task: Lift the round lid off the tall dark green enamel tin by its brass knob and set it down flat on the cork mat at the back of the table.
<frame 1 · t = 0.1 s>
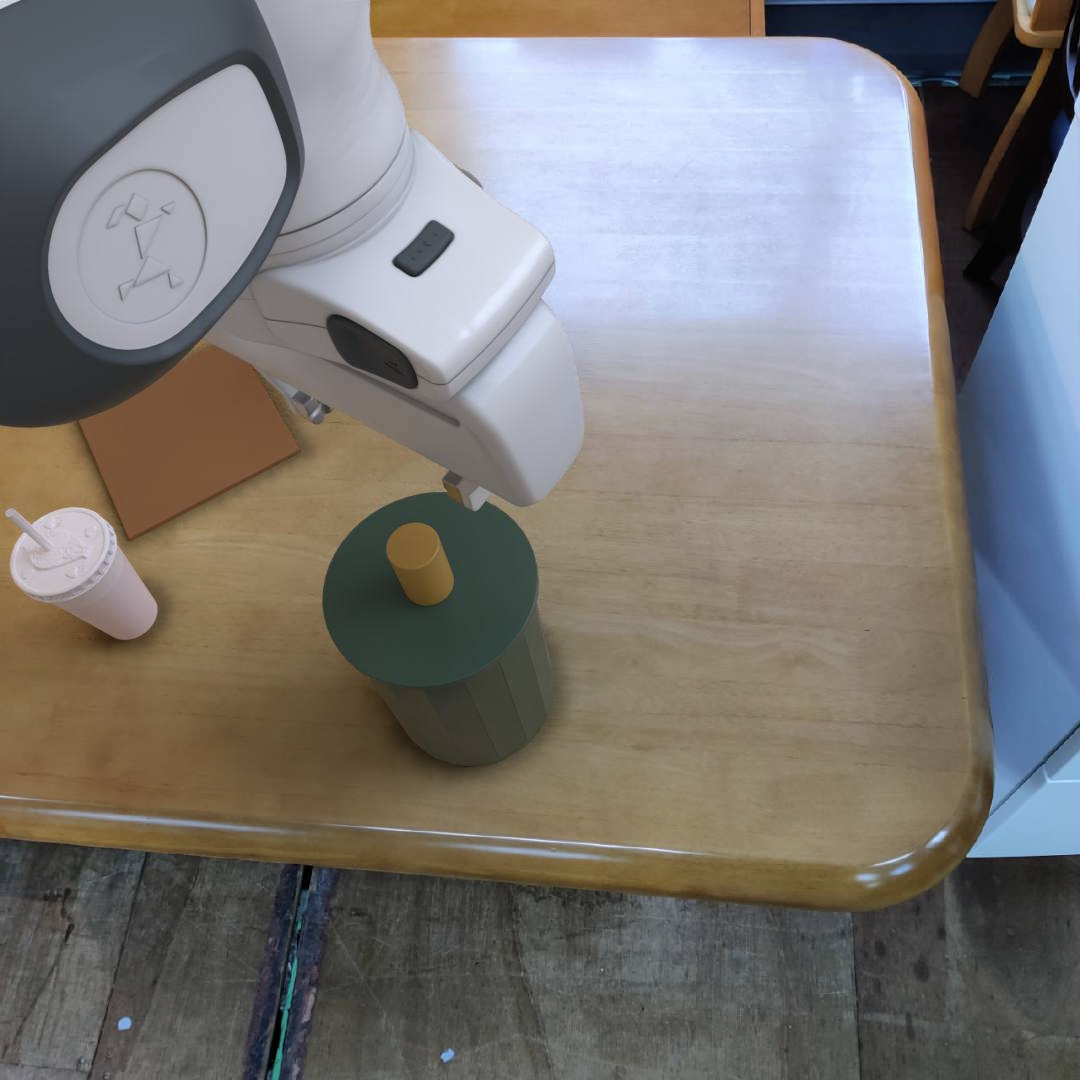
hand: (392, 450, 44), 22 cm above the table, tool pointing down, fingers open, 8 cm apart
smoothie: (133, 617, 67), on the table
cork mat: (187, 434, 75), on the table
tin lid: (431, 588, 49), point 14 cm above the table, touching tin
tin: (475, 689, 62), on the table
pillar candle: (453, 344, 77), on the table
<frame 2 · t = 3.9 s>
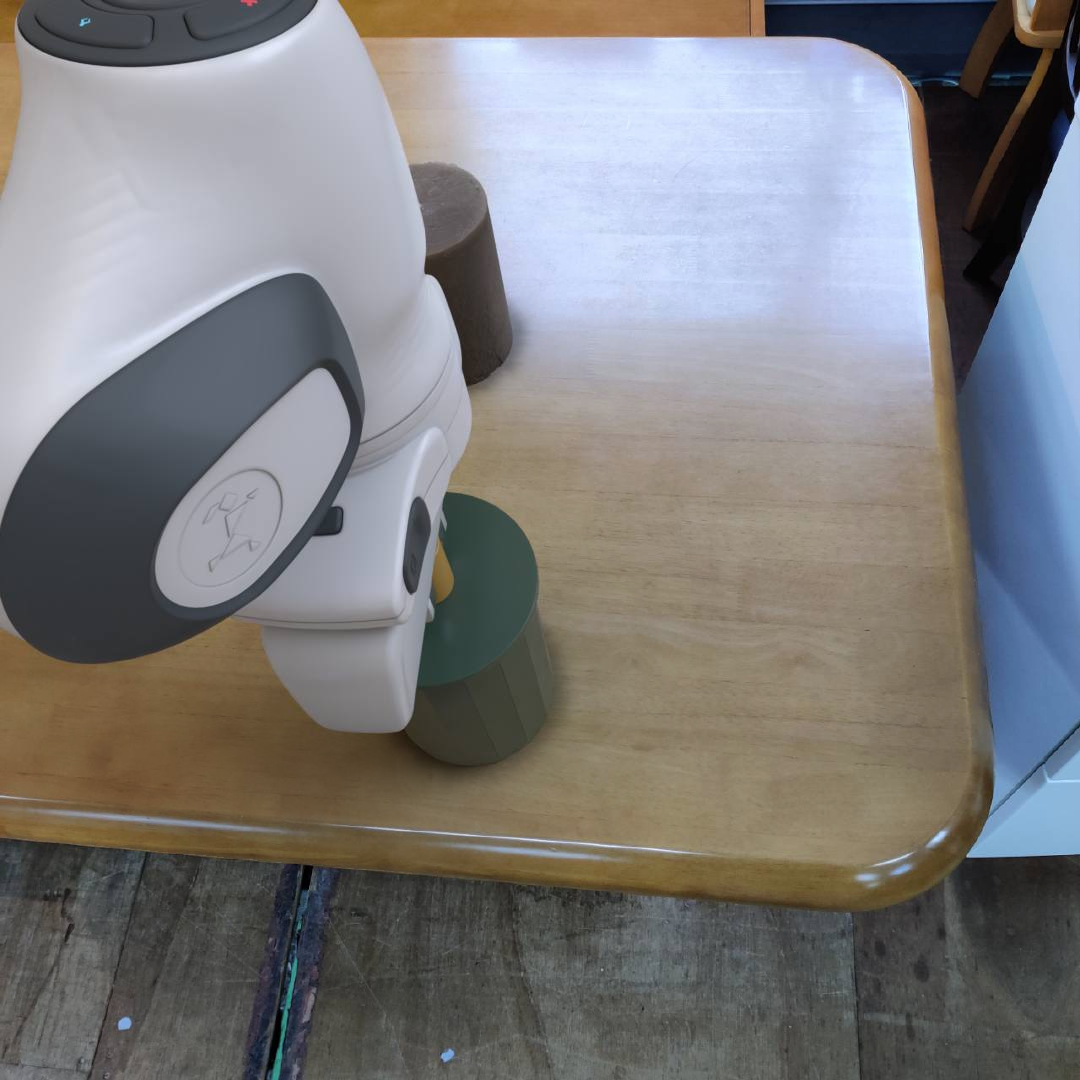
hand: (424, 573, 48), 16 cm above the table, tool pointing down, fingers closed on tin lid, 2 cm apart
tin lid: (431, 588, 49), point 15 cm above the table, touching gripper, tin
everything else where it was.
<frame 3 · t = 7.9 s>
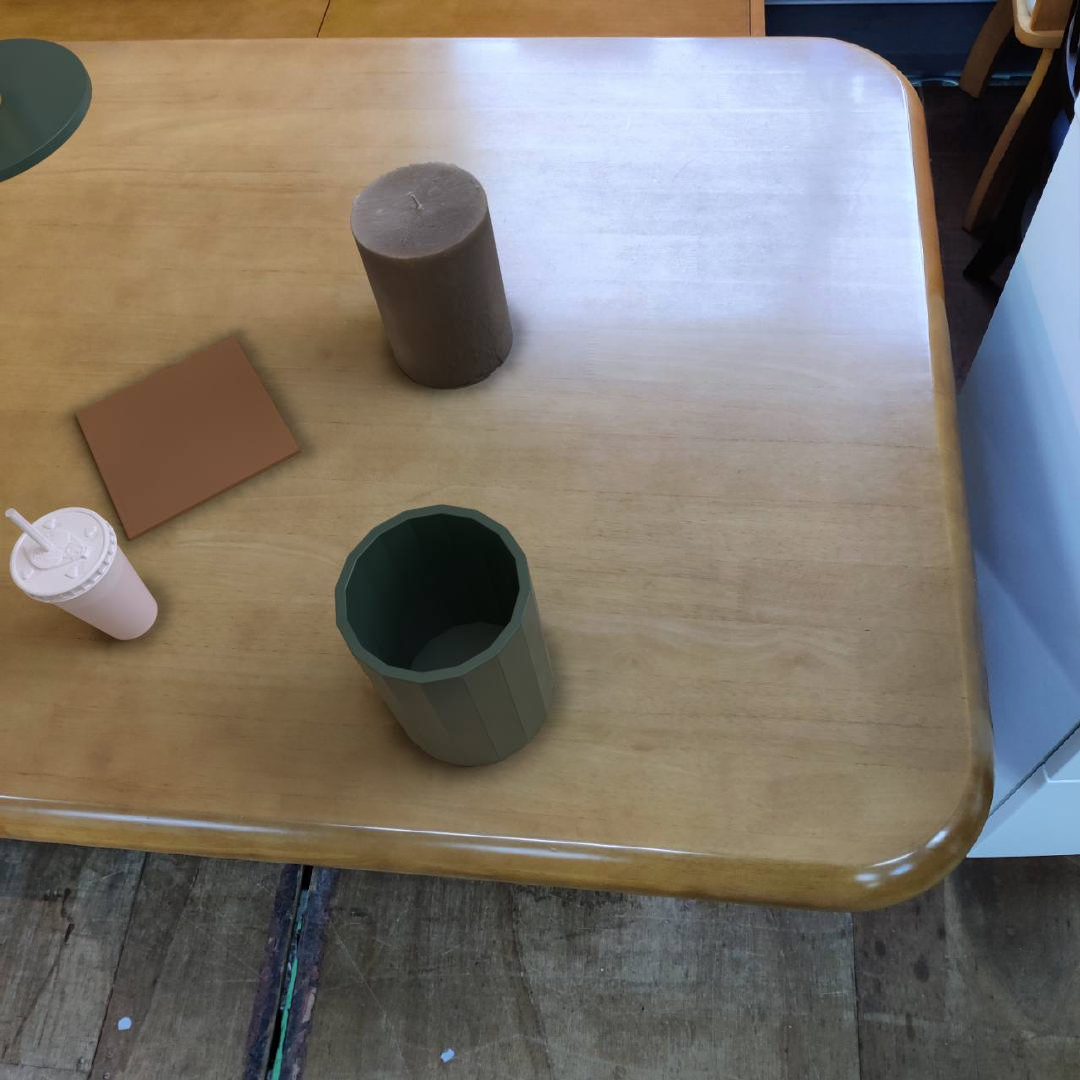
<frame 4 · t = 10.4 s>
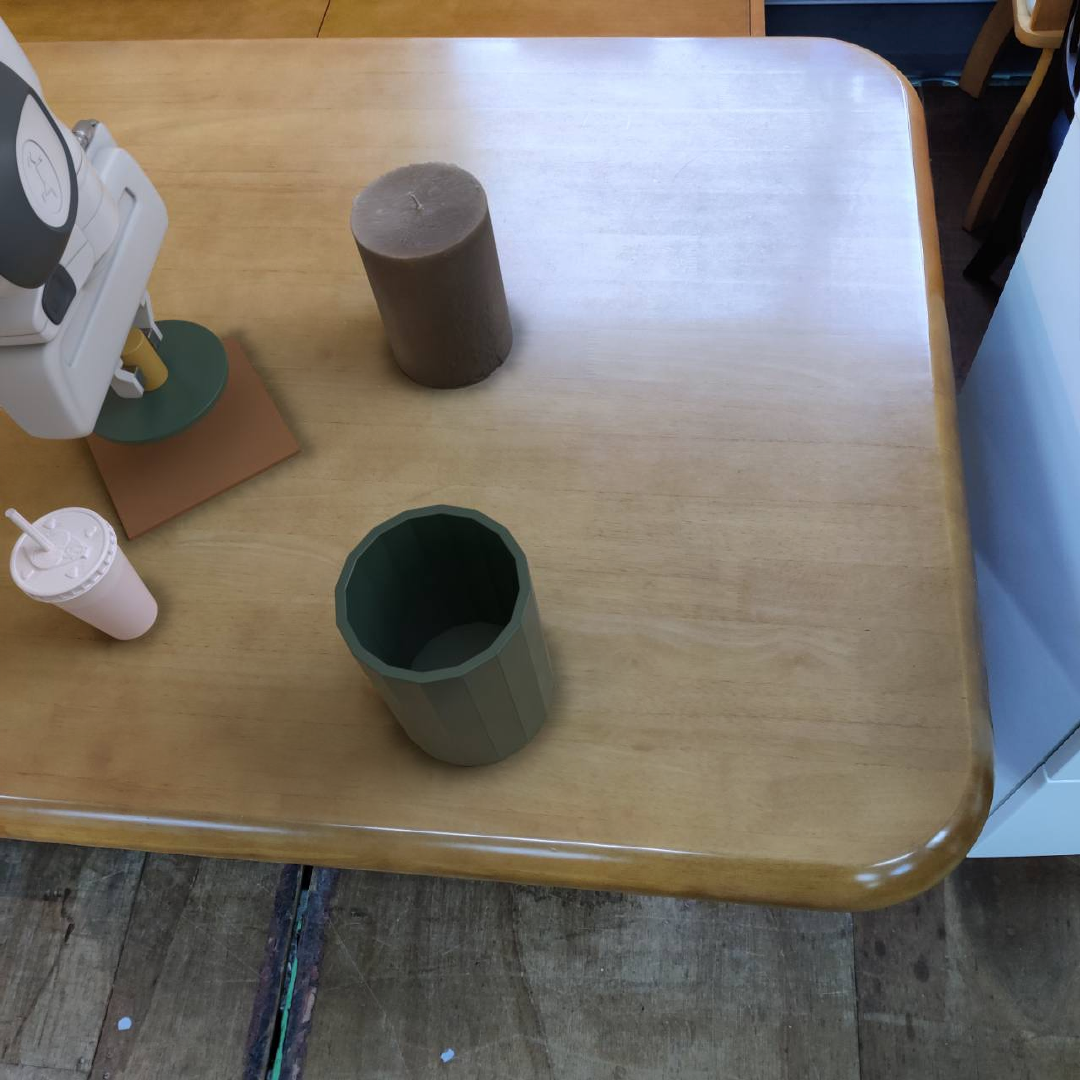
hand: (143, 368, 68), 8 cm above the table, tool pointing down, fingers closed on tin lid, 2 cm apart
tin lid: (154, 383, 69), point 6 cm above the table, touching gripper
everything else where it was.
when the fingers open (3 cm above the table, at t = 12.1 s): tin lid stays where it is, resting on cork mat.
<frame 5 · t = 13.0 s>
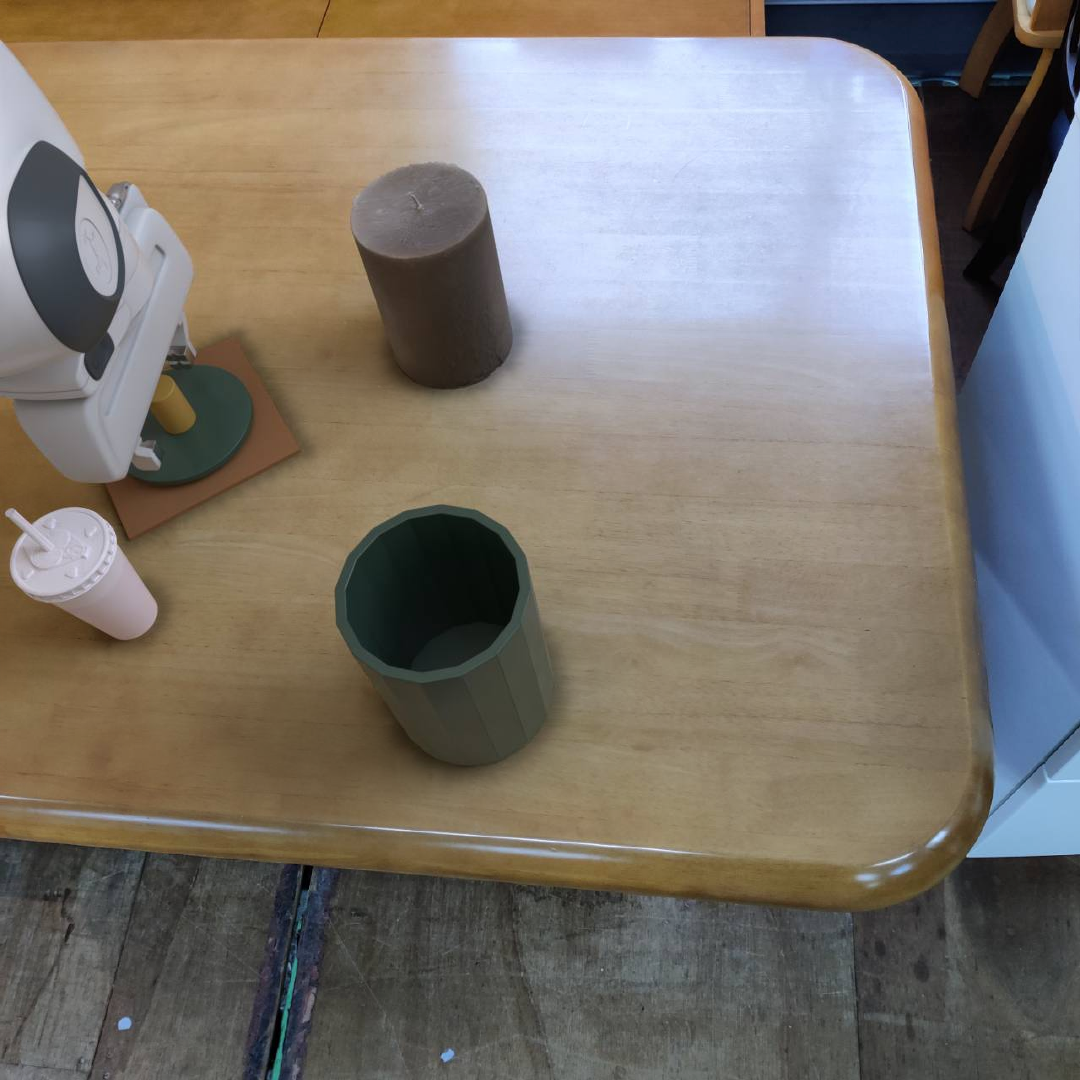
hand: (169, 411, 72), 3 cm above the table, tool pointing down, fingers open, 8 cm apart
tin lid: (183, 425, 74), point 1 cm above the table, touching cork mat
everything else where it was.
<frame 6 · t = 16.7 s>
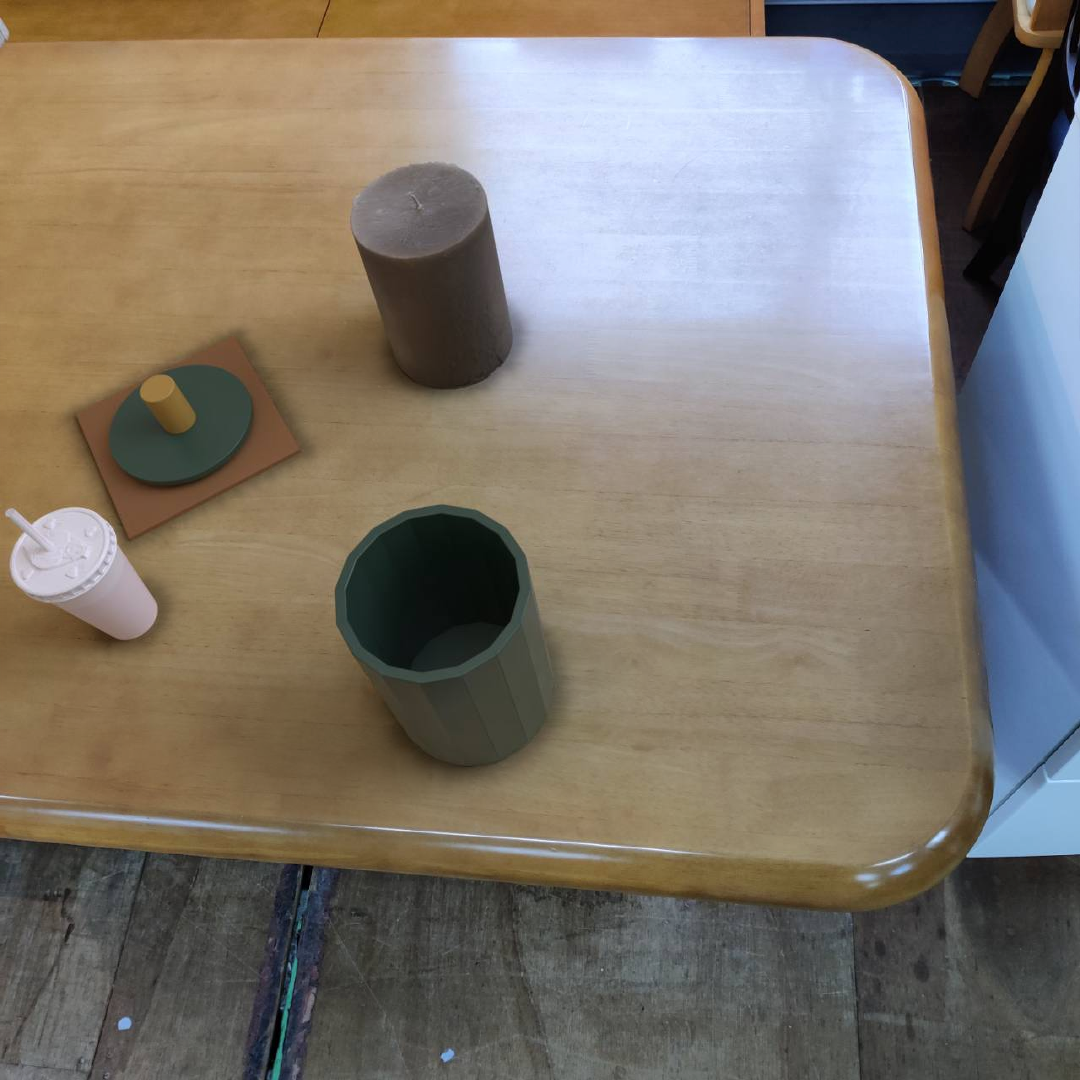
nothing on the table moved.
at the end: tin lid 0.1 cm off-centre on the cork mat, point 1.1 cm above the cork mat's base; tin lid tilted 0°; the gripper is holding nothing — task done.
